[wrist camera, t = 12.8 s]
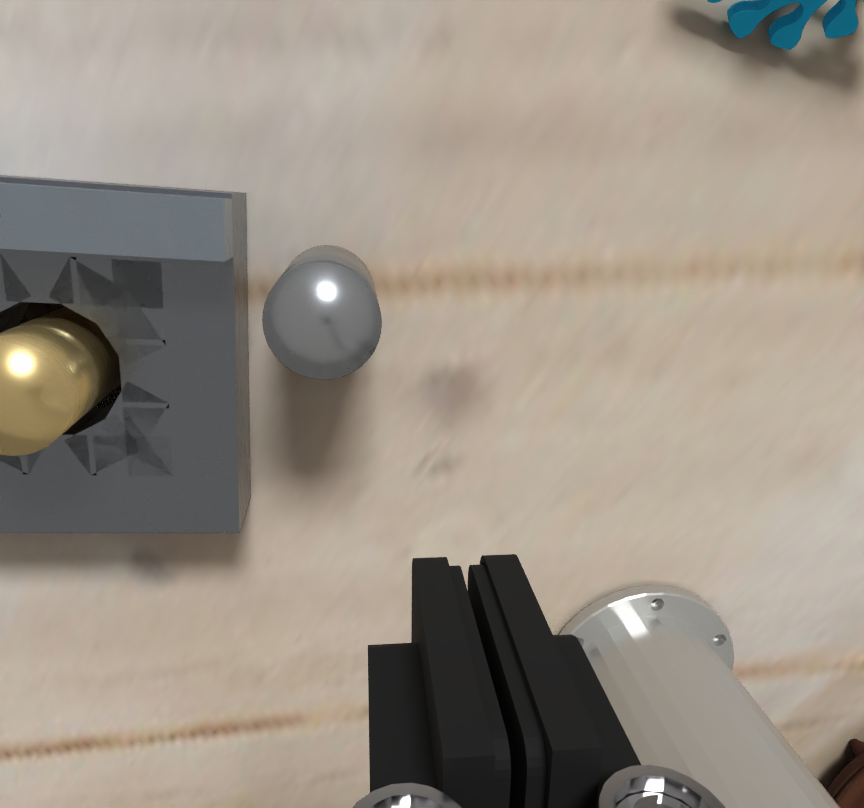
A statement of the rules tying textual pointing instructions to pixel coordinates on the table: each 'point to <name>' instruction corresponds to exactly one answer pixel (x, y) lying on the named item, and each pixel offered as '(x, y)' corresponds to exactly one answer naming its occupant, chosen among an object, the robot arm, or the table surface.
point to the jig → (136, 355)
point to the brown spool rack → (850, 780)
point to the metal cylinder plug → (323, 314)
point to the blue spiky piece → (791, 19)
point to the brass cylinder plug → (51, 378)
